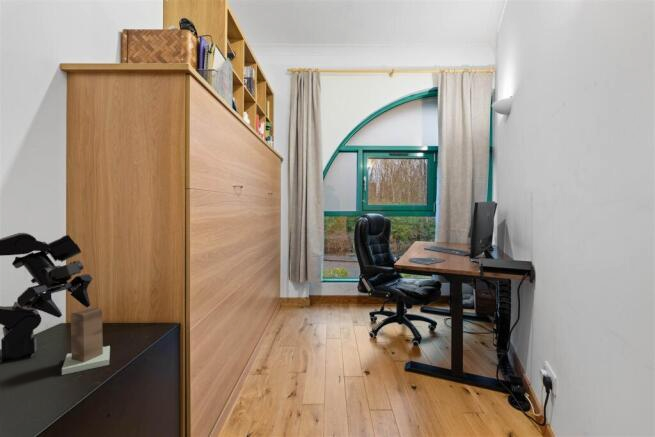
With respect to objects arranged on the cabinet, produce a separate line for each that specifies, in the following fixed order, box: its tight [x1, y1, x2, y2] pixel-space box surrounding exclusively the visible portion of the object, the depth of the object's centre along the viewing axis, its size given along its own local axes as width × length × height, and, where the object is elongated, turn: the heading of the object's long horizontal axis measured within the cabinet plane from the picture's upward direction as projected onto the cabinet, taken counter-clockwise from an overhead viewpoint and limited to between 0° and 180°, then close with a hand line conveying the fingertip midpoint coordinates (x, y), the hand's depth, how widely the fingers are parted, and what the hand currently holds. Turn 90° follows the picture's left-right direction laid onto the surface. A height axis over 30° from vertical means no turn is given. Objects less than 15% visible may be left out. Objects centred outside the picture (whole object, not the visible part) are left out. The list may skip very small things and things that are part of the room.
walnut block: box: [70, 306, 104, 362], centre depth 88 cm, size 5×5×13 cm
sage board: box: [61, 345, 111, 376], centre depth 88 cm, size 10×10×2 cm
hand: (75, 311), depth 93 cm, fingers open, 9 cm apart
